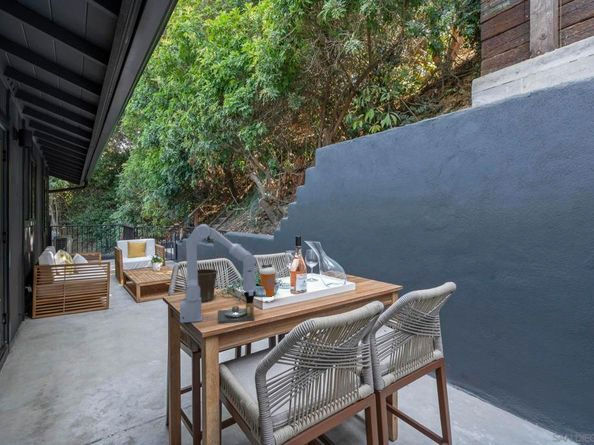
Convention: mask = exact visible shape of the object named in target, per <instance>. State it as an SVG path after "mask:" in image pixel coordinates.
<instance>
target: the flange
mask: <svg viewBox="0 0 594 445" xmlns="http://www.w3.org/2000/svg"><path fill="white" fill-rule="evenodd" d="M254 305H255V303H254V301H253V302H249V303H247V302H245V308H246V310H245V309H244V308H241V307H239V306H237V305H235V306H232V308H229V309H225V310H226V311H225V315H226V316H228V317H239V316H243V315H245V314H246V313H247V307H250V313H254V312H255V309H254V308H255V306H254Z"/></svg>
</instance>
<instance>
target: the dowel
mask: <svg viewBox="0 0 594 445" xmlns="http://www.w3.org/2000/svg"><path fill="white" fill-rule="evenodd" d="M247 317H250V307H247Z"/></svg>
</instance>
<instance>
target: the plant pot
mask: <svg viewBox="0 0 594 445" xmlns="http://www.w3.org/2000/svg"><path fill="white" fill-rule="evenodd" d="M197 270H198V285H199V287H200V298H201V303H207V302H208V301H210V302H212V301H213V300H214V298H215V288H216V287H215V286H216V279H217V274H218V270H217V269H213V268H211V269H210V268H209V269H208V268H200V269H198V268H197Z"/></svg>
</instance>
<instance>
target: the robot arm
mask: <svg viewBox="0 0 594 445" xmlns="http://www.w3.org/2000/svg"><path fill="white" fill-rule="evenodd" d="M208 237H209V239H210V240H216V241H217V242H219V243H220V244H221V245H223V246H224V247H226V249H228V252H229V254H230V255H231V256H233V257H234V258H235V259H237V260H238V261H240V262H242V263H243V264H242V265H243V268H242V283H243V284H242V286H243V288H242V290H243V291H244V292H243V295H244V297H245V301H246V302H245V303H249V302H253V303H254V299H255V296H256V294H257V293H256V290H259V287H258V286H256V267H255V265H256V263H257V262H256V261H257V260H256V257H255V256H254V255H253V254H252V253H251V252H250V251H249V250H246V249H245V248H244V247H243V246H242V244H241V243H233V242H232V241H230V240H229V239H228V238H226V237H225V236H224V235H223V234H222V233H221V232H219V231H218V230H217V229H215V228H214V227H213V228H212V227H210V226H209V225H208V224H206V223H201V224H199V225H198V226H196V227H195V228H194V229H193V230H192V232H191V233H190V235H189V236H188V238H187V239H186V242H185V243H186V244H185V246H186V275H187V282H186V283H187V285H186V291H185V295H184V297H185V298H184V300H180V302H179V323H195V322H203V319H204V318H203V316H204V314H203V313H202V312H203V311H202V302H201V298H200V287H199V285H198V245H199V244H200V243H201V242H202V241H203V240H205V239H208Z"/></svg>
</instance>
